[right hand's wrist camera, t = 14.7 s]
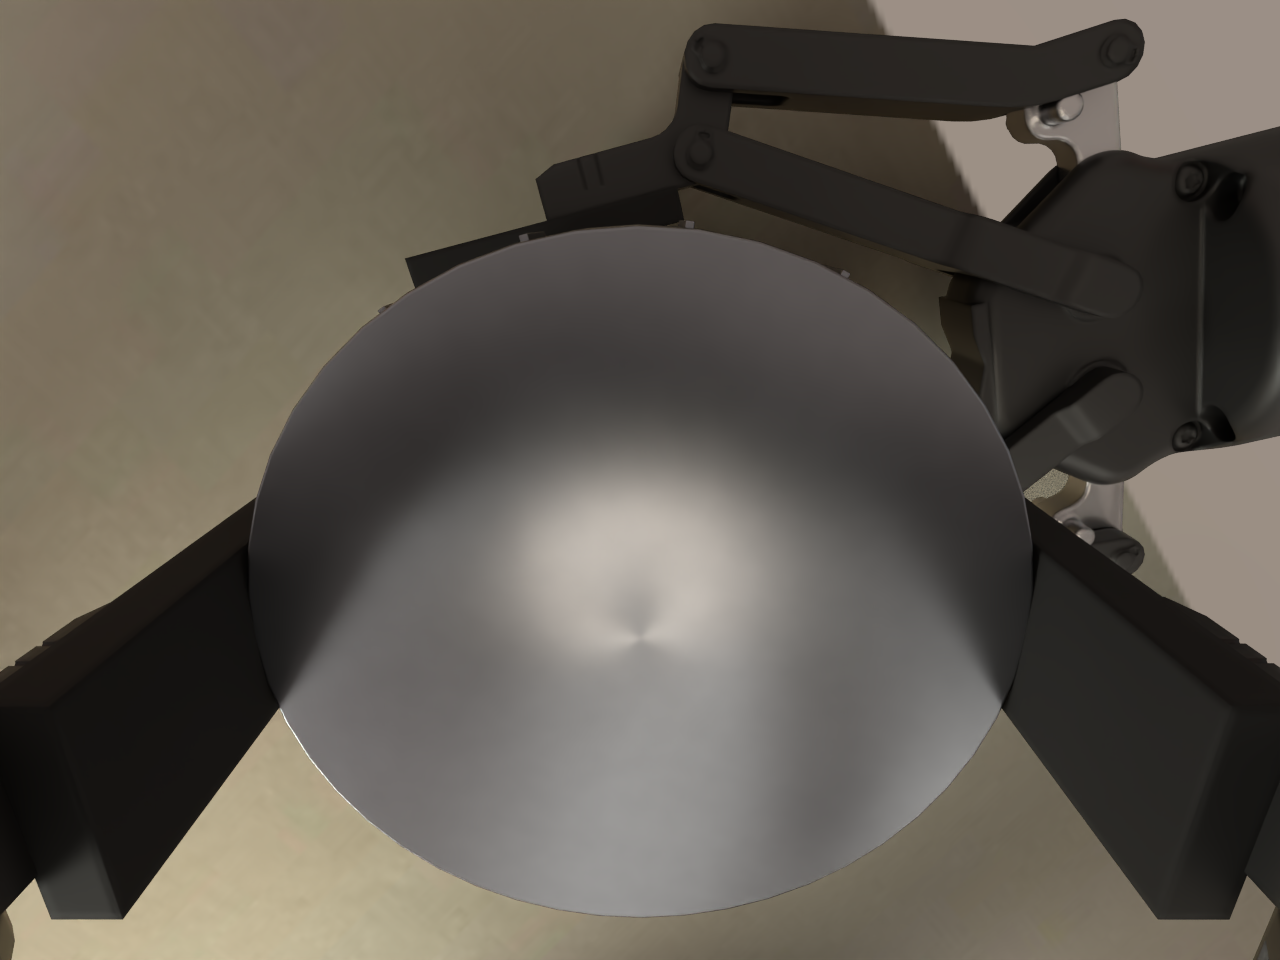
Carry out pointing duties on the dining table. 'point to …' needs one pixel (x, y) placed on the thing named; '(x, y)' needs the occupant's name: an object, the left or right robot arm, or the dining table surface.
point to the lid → (640, 571)
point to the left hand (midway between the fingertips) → (493, 470)
